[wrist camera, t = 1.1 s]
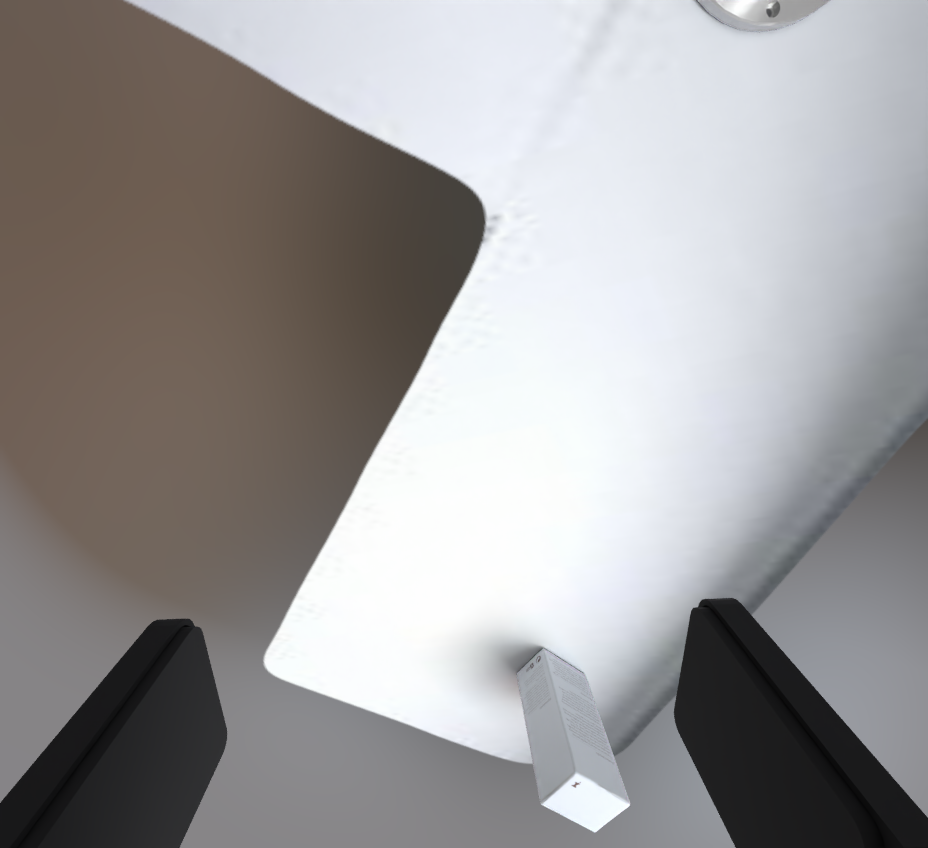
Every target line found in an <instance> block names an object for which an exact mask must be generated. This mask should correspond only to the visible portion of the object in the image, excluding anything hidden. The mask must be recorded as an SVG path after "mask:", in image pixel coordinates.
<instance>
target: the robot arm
mask: <svg viewBox="0 0 928 848" xmlns="http://www.w3.org/2000/svg"><path fill="white" fill-rule="evenodd" d="M829 1H830V0H698V2H699V3H700V4H701V5H702V6H703V7H704V8H705V10H706V11H707V12H708V13H709V14H711V15H712V16H714V17H715V18H716V19H718V20H719V21H721V22H722V23H724V24H726V25H729V26H731V27H734V28H736V29H739V30H745V31H753V32H763V31H772V30H777V29H780V28H783V27H786V26H789V25H792V24H795V23H797V22H798V21H800V20H802V19H804V18H805V17H807V16H809V15H811V14H812V13H814V12H815V11H816V10H818V9H819V8H820V7H822V6H823V5H824V4H826V3H827V2H829ZM674 717H675V723H676V726H677V729H678V732H679V734H680V736H681V738H682V740H683V742H684V744H685V746H686V748H687V750H688V752H689V754H690V756H691V758H692V760H693V762H694V764H695V766H696V768H697V770H698V772H699V774H700V776H701V778H702V780H703V782H704V784H705V786H706V789H707V791H708V793H709V795H710V797H711V799H712V801H713V802H714V805H715V806H716V808H717V811H718V813H719V815H720V817H721V819H722V821H723V823H724V825H725V827H726V829H727V831H728V833H729V835H730V837H731V839H732V841H733V843H734V845H735V847H736V848H928V818H927V816H926V815H925V814H924V813H923V812H922V811H921V810H920V808H919V807H918V806H917V805H916V804H915V803H914V802H913V800H912V799H911V798H910V797H909V796H908V795H907V793H906V792H905V791H904V790H903V789H902V788H901V787H900V785H899V784H898V783H897V782H896V781H895V780H894V779H893V777H892V776H891V775H890V774H889V773H888V772H887V771H886V769H885V768H884V767H883V766H882V765H881V764H880V763H879V761H878V760H877V759H876V758H875V757H874V756H873V754H872V753H871V752H870V751H869V750H868V749H867V748H866V746H865V745H864V744H863V743H862V742H861V741H860V740H859V738H858V737H857V736H856V735H855V734H854V733H853V732H852V730H851V729H850V728H849V727H848V726H847V725H846V723H845V722H844V721H843V720H842V719H841V718H840V717H839V715H837V713H836V712H835V711H834V710H833V709H832V707H831V706H830V705H829V704H828V703H827V702H826V701H825V699H824V698H823V697H822V696H821V695H820V694H819V692H818V691H817V690H816V689H815V688H814V687H813V686H812V684H811V683H810V682H809V681H808V680H807V679H806V678H805V676H804V675H803V674H802V673H801V672H800V671H799V670H798V668H797V667H796V666H795V665H794V664H793V663H792V662H791V661H790V659H789V658H788V657H787V656H786V655H785V653H784V652H783V651H782V650H781V649H780V648H779V647H778V646H777V644H776V643H775V642H774V641H773V640H772V639H771V638H770V636H769V635H768V634H767V633H766V632H765V631H764V629H763V628H762V627H761V626H760V625H759V624H758V623H757V621H756V620H755V619H754V618H753V617H752V616H751V614H750V613H749V612H748V611H747V610H746V609H745V608H744V606H743V605H742V604H741V603H740V602H739V601H738V600H736V599H733V598H722V599H704V600H702V601H701V602H700V603H699V606H698V607H697V608H693V609H692V611H691V615H690V621H689V627H688V632H687V638H686V644H685V650H684V656H683V661H682V667H681V673H680V679H679V685H678V690H677V696H676V702H675V708H674ZM226 741H227V728H226V724H225V720H224V716H223V712H222V708H221V704H220V700H219V696H218V692H217V688H216V684H215V680H214V676H213V672H212V668H211V664H210V660H209V656H208V652H207V648H206V644H205V640H204V636H203V632H202V630H201V628H200V627H195V626H194V624H193V622H192V621H191V620H190V619H167V620H156V621H153V622H152V623H151V624H150V625H149V626H148V627H147V628H146V629H145V630H144V632H143V633H142V634H141V635H140V636H139V638H138V639H137V640H136V641H135V642H134V644H133V645H132V646H131V647H130V648H129V650H128V651H127V652H126V653H125V654H124V656H123V657H122V658H121V659H120V660H119V662H118V663H117V664H116V665H115V666H114V667H113V669H112V670H111V671H110V672H109V673H108V675H107V676H106V677H105V678H104V679H103V681H102V682H101V683H100V684H99V685H98V687H97V688H96V689H95V690H94V691H93V693H92V694H91V695H90V696H89V698H88V699H87V700H86V701H85V703H83V705H82V706H81V707H80V708H79V709H78V711H77V712H76V713H75V714H74V715H73V717H72V718H71V719H70V720H69V721H68V723H67V724H66V725H65V726H64V727H63V729H62V730H61V731H60V732H59V734H58V735H57V736H56V737H55V738H54V739H53V741H52V742H51V743H50V744H49V745H48V747H47V748H46V749H45V750H44V751H43V752H42V754H41V755H40V756H39V757H38V758H37V760H36V761H35V762H34V763H33V764H32V766H31V767H30V768H29V769H28V770H27V772H26V773H25V774H24V775H23V776H22V778H21V779H20V780H19V781H18V782H17V784H16V785H15V786H14V787H13V788H12V790H11V791H10V792H9V793H8V794H7V796H6V797H5V798H4V799H3V800H2V802H1V803H0V848H179V847H180V845H181V843H182V841H183V839H184V837H185V834H186V832H187V830H188V828H189V826H190V823H191V821H192V819H193V817H194V815H195V813H196V811H197V809H198V806H199V804H200V802H201V800H202V798H203V795H204V793H205V791H206V789H207V787H208V785H209V782H210V780H211V778H212V776H213V774H214V771H215V770H216V767H217V765H218V763H219V761H220V759H221V757H222V754H223V752H224V749H225V745H226Z"/></svg>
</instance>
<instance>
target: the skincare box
mask: <svg viewBox="0 0 928 848" xmlns="http://www.w3.org/2000/svg"><path fill="white" fill-rule="evenodd" d="M517 679H518V685H519V690H520V696H521V701H522V706H523V712H524V717H525V723H526V728H527V734H528V739H529V744H530V750H531V755H532V761H533V766H534V771H535V777H536V782H537V788H538V793H539V798H540V803H541V805H543V806H545V807H547V808H549V809H551V810H553V811H555V812H557V813H559V814H561V815H563V816H564V817H566V818H568V819H570V820H572V821H574V822H576V823H578V824H580V825H582V826H584V827H585V828H587V829H589V830H591V831H593V832H596V831H597V830H599V829H600V828H601V827H603V826H604V825H605V824H606V823H608V822H609V821H610V820H611V819H613V818H614V817H615V816H617V815H618V814H619V813H620V812H622V811H623V810H624V809H626V808H627V807H629V806H630V802H629V798H628V795H627V793H626V790H625V787H624V784H623V781H622V778H621V775H620V773H619V770H618V767H617V764H616V761H615V758H614V755H613V753H612V750H611V747H610V744H609V741H608V738H607V735H606V732H605V729H604V727H603V724H602V721H601V718H600V715H599V712H598V709H597V707H596V704H595V701H594V698H593V695H592V692H591V689H590V686H589V683H588V680H587V678H586V675H585V674H583V673H582V672H580V671H578V670H577V669H575V668H574V667H572V666H571V665H569V664H567V663H566V662H564V661H563V660H561V659H560V658H558V657H557V656H555V655H553V654H552V653H550V652H549V651H547V650H546V649H544V648H543V649H542V650H541V651H540V652H538V653H537V654H536V655H535V656H534V657H533V658H532V659H531V660H530V661H529V662H528V663H527V664H526V665H525V666H524V667H523V668H522V669H521V670H520V671H519V672H518V673H517Z"/></svg>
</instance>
